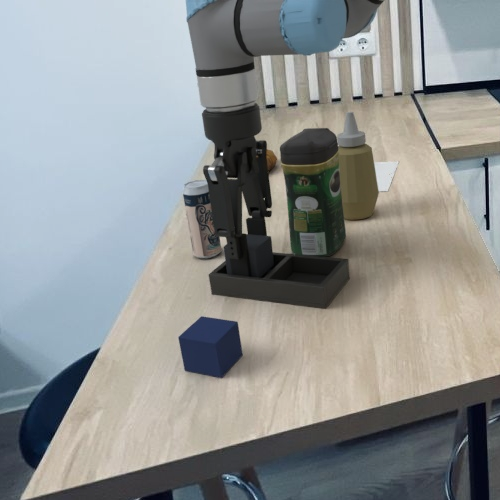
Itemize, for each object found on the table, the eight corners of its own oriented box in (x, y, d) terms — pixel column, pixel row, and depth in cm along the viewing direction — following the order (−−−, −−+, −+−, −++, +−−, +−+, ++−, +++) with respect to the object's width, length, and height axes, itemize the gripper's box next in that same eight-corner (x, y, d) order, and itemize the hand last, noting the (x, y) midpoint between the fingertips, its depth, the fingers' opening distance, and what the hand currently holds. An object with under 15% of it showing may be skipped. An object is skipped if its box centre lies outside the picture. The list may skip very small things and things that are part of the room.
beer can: (212, 261, 104) (200, 189, 99) (187, 258, 106) (175, 188, 102) (227, 249, 108) (217, 179, 103) (203, 247, 110) (192, 178, 105)
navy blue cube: (243, 355, 77) (237, 321, 75) (221, 378, 73) (215, 343, 71) (207, 348, 79) (201, 315, 78) (184, 370, 75) (177, 336, 74)
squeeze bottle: (342, 206, 120) (334, 107, 113) (385, 207, 116) (380, 106, 110) (327, 222, 114) (317, 118, 107) (372, 224, 110) (366, 117, 103)
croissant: (254, 162, 156) (252, 141, 155) (282, 160, 155) (280, 139, 153) (243, 179, 144) (240, 157, 142) (274, 177, 143) (271, 154, 141)
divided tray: (242, 267, 100) (239, 249, 99) (350, 278, 92) (348, 258, 91) (211, 294, 93) (208, 274, 92) (325, 309, 85) (323, 287, 84)
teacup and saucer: (359, 168, 141) (358, 149, 139) (353, 179, 134) (352, 160, 132) (319, 169, 143) (318, 151, 142) (311, 180, 137) (309, 161, 135)
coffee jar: (305, 235, 109) (294, 124, 102) (351, 237, 106) (343, 123, 99) (283, 258, 101) (270, 140, 94) (333, 262, 98) (322, 139, 91)
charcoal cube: (274, 264, 95) (271, 236, 93) (258, 279, 91) (254, 249, 89) (244, 261, 97) (240, 233, 95) (227, 275, 93) (223, 246, 91)
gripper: (238, 92, 94) (257, 242, 103) (166, 122, 79) (196, 293, 88) (285, 90, 90) (301, 246, 99) (219, 121, 76) (244, 300, 85)
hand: (251, 268), depth 94 cm, fingers closed on charcoal cube, 5 cm apart
